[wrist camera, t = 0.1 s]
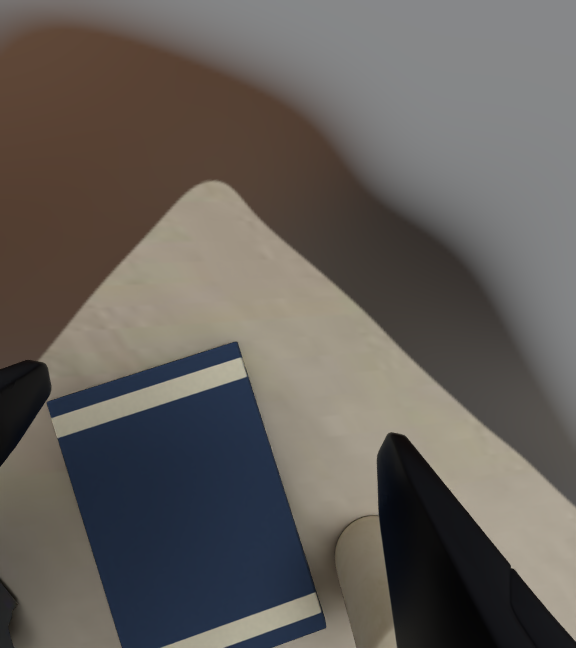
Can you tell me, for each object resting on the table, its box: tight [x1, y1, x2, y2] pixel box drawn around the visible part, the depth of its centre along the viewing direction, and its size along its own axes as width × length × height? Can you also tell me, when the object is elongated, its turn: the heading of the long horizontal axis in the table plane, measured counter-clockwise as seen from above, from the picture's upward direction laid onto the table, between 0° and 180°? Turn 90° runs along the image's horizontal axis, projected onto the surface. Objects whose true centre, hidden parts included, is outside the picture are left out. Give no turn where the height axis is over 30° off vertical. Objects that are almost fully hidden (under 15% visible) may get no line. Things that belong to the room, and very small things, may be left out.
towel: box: [47, 342, 326, 648], centre depth 23 cm, size 20×13×1 cm, turn 18°
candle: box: [335, 516, 397, 648], centre depth 19 cm, size 6×6×10 cm
